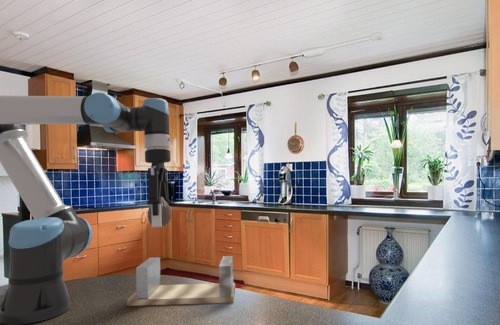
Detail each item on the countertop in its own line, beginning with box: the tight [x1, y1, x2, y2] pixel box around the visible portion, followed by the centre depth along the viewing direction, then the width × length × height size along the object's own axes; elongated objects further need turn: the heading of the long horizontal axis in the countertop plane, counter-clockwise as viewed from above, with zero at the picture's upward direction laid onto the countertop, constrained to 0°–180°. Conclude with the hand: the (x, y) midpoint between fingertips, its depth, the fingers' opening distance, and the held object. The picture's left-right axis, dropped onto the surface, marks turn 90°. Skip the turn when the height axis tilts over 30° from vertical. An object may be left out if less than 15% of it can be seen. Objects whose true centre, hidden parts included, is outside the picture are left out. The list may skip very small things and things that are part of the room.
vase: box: [147, 197, 172, 228], centre depth 99 cm, size 7×7×9 cm
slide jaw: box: [135, 256, 161, 298], centre depth 93 cm, size 3×12×8 cm, turn 0°
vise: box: [126, 255, 236, 307], centre depth 93 cm, size 28×12×10 cm, turn 90°
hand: (160, 225), depth 99 cm, fingers closed on vase, 7 cm apart
